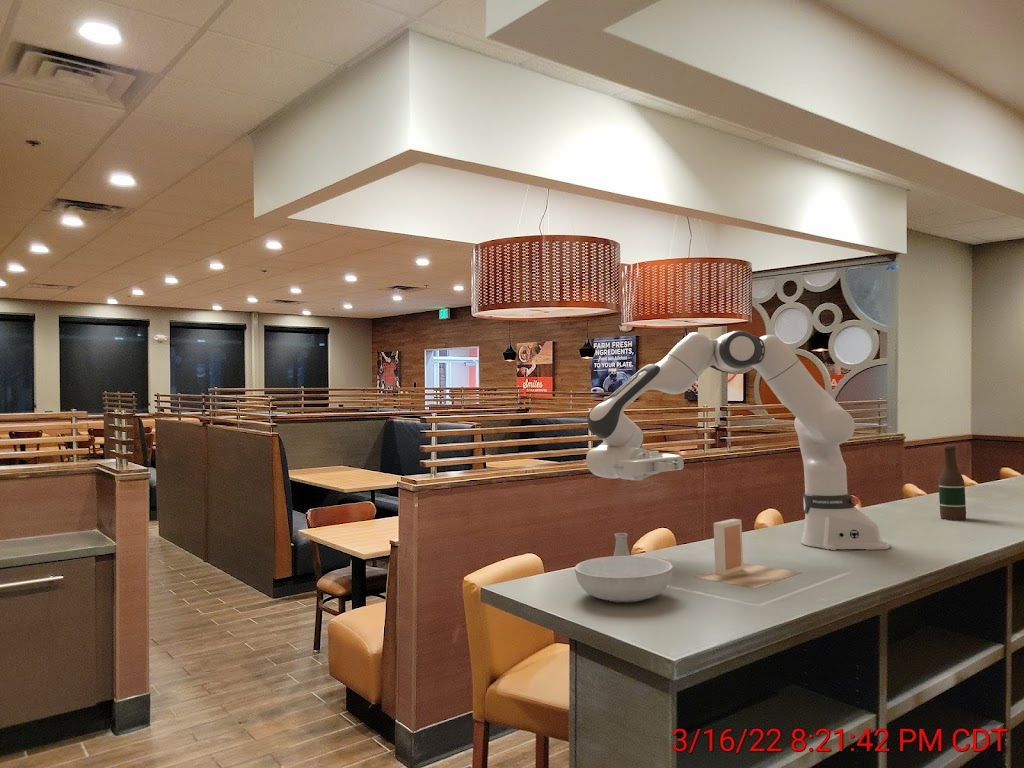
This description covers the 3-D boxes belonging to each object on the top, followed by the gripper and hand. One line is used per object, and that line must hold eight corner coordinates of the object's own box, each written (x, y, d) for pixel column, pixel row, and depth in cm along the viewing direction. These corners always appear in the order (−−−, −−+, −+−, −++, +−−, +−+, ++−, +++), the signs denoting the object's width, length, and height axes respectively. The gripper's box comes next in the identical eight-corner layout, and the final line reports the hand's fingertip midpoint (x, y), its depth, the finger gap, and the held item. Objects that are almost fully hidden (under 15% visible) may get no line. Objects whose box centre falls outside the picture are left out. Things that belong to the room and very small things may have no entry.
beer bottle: (944, 516, 248) (941, 444, 248) (970, 518, 242) (967, 445, 242) (935, 519, 243) (932, 446, 243) (961, 521, 237) (958, 446, 237)
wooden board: (693, 578, 173) (693, 576, 173) (742, 564, 186) (741, 562, 186) (754, 590, 161) (754, 588, 161) (801, 574, 174) (801, 572, 174)
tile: (715, 573, 176) (713, 522, 176) (734, 567, 181) (732, 518, 181) (724, 575, 174) (722, 524, 174) (743, 569, 179) (741, 519, 179)
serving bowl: (590, 583, 173) (589, 553, 173) (680, 588, 165) (679, 557, 165) (563, 607, 153) (562, 573, 154) (664, 614, 146) (663, 579, 146)
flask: (637, 579, 175) (635, 536, 175) (606, 578, 177) (605, 536, 177) (638, 572, 182) (636, 531, 182) (608, 571, 184) (607, 531, 184)
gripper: (608, 455, 194) (649, 456, 184) (657, 450, 208) (699, 451, 197) (609, 479, 194) (650, 482, 184) (658, 472, 207) (699, 475, 197)
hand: (676, 466), depth 190 cm, fingers closed
